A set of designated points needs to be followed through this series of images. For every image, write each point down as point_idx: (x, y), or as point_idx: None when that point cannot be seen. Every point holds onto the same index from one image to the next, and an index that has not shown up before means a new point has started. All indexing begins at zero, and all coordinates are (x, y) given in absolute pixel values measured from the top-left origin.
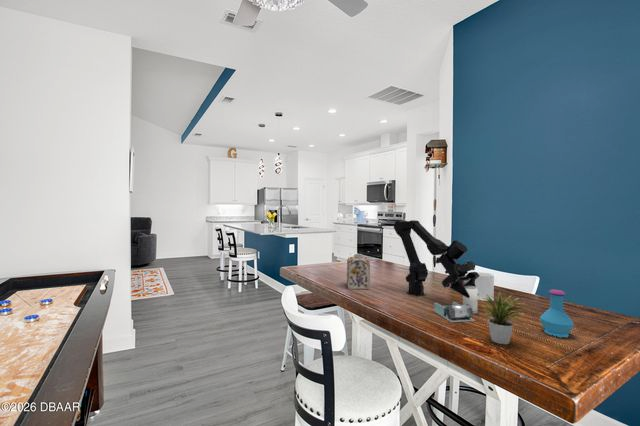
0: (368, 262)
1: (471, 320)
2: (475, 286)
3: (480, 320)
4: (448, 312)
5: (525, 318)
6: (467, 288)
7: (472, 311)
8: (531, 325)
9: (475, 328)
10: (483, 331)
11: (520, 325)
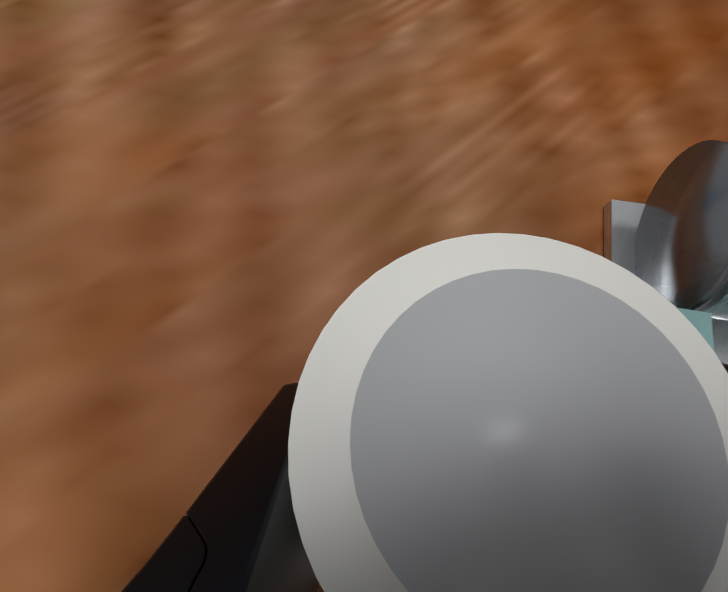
0: None
1: (639, 209)
2: (184, 532)
3: (526, 205)
4: None
5: (58, 126)
6: (688, 402)
7: (689, 149)
8: (193, 22)
9: (708, 92)
10: (680, 41)
11: (278, 42)
